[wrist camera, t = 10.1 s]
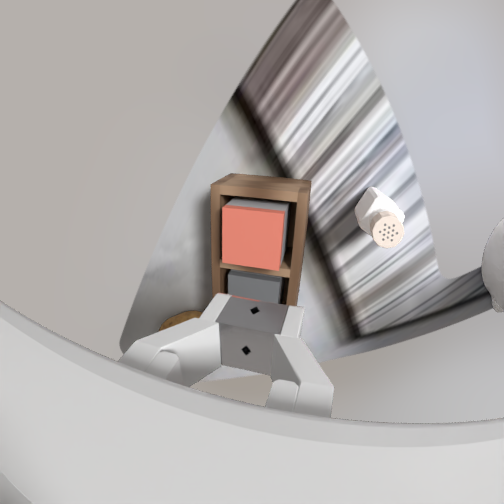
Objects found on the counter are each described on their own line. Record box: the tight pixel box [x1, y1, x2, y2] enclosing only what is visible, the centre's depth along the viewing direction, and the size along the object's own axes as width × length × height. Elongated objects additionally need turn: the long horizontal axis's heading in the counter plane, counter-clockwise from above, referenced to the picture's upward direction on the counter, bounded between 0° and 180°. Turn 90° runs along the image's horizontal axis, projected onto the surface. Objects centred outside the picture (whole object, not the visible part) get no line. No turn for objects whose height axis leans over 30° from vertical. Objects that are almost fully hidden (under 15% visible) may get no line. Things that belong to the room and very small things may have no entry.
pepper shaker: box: [354, 187, 405, 248], centre depth 29 cm, size 4×4×10 cm
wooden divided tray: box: [211, 174, 311, 306], centre depth 36 cm, size 10×18×7 cm, turn 177°
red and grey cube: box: [222, 196, 291, 271], centre depth 32 cm, size 6×6×6 cm
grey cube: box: [228, 269, 285, 304], centre depth 37 cm, size 6×6×6 cm
